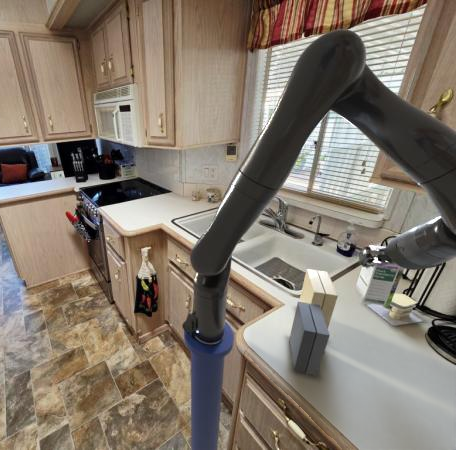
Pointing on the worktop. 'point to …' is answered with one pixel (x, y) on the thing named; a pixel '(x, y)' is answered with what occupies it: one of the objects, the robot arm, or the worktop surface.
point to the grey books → (308, 338)
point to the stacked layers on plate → (397, 310)
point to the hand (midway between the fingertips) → (378, 265)
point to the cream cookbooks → (319, 292)
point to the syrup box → (378, 282)
